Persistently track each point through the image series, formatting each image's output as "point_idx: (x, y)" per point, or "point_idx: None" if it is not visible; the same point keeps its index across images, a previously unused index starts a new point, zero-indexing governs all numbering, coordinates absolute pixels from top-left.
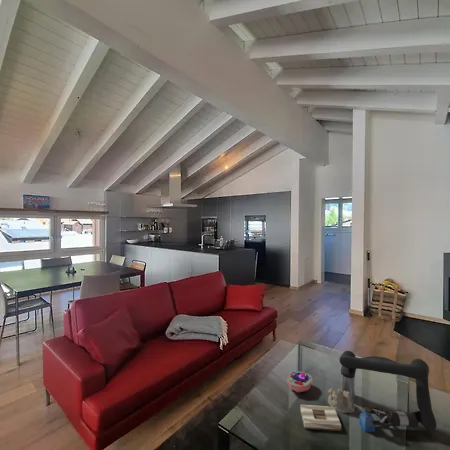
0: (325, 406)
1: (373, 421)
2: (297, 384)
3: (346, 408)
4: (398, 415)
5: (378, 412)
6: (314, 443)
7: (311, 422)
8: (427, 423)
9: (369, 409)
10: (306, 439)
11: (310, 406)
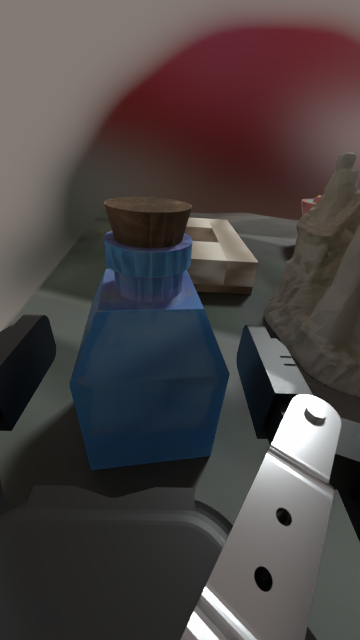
0: (245, 247)
1: (29, 317)
2: (314, 202)
3: (295, 317)
4: None
5: (252, 490)
6: (85, 239)
7: None
8: None
9: (140, 208)
10: (104, 234)
11: (226, 228)
